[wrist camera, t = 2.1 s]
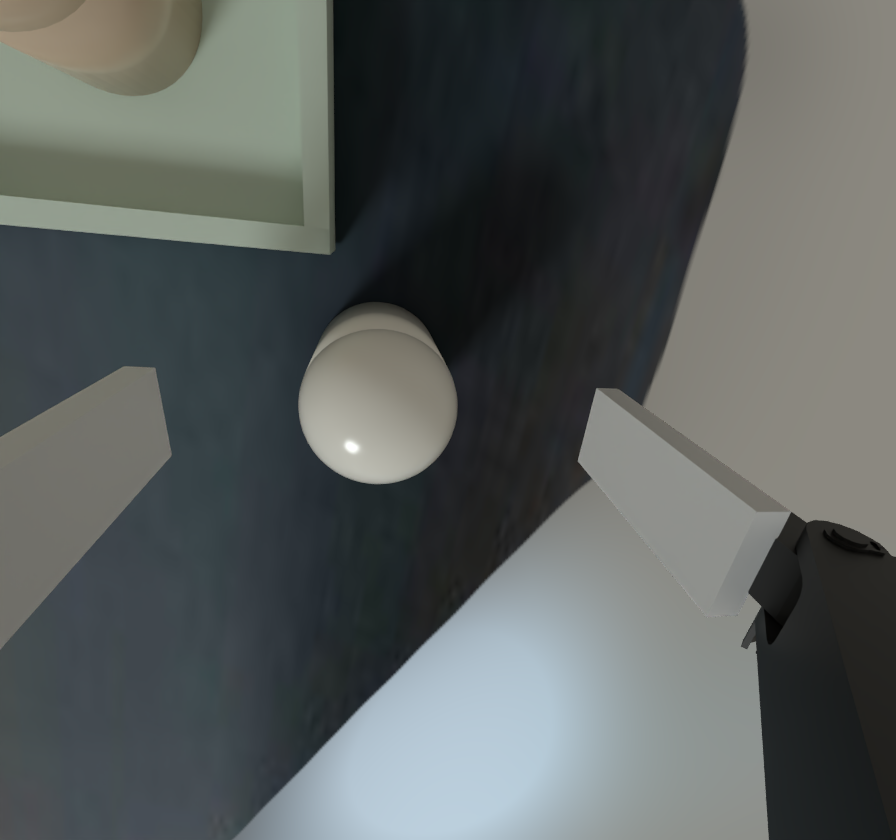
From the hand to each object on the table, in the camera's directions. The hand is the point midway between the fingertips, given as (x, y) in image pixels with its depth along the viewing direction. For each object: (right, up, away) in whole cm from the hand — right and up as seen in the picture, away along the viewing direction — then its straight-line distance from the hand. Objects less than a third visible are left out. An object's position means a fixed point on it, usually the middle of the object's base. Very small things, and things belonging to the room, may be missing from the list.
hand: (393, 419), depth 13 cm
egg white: (-1, +3, +6) cm, 6 cm away
